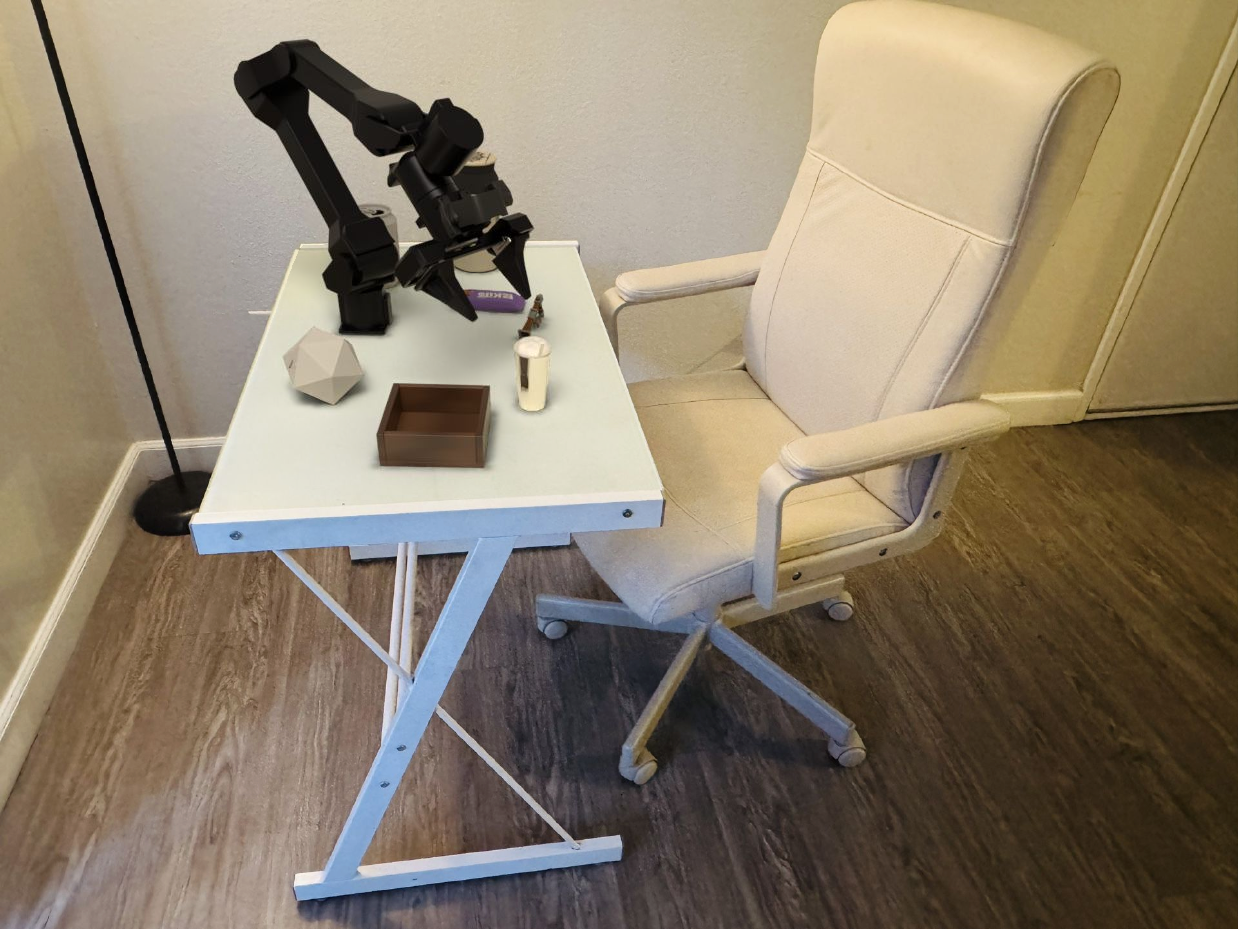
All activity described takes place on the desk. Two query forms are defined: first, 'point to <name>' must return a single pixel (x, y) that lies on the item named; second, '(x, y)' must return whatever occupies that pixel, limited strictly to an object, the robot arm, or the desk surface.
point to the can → (388, 219)
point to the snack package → (495, 300)
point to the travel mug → (474, 181)
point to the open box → (435, 425)
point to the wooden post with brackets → (533, 317)
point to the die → (323, 365)
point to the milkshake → (532, 371)
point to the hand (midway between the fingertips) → (502, 309)
